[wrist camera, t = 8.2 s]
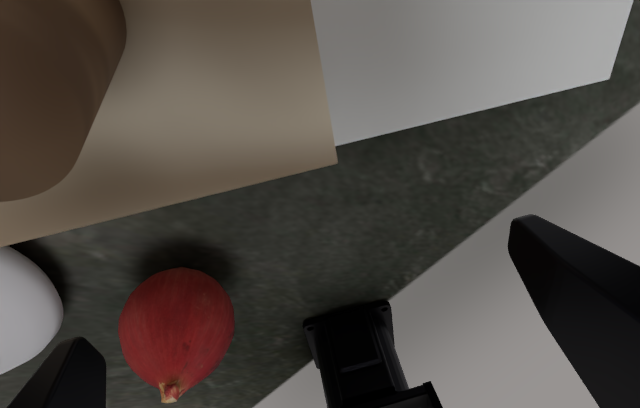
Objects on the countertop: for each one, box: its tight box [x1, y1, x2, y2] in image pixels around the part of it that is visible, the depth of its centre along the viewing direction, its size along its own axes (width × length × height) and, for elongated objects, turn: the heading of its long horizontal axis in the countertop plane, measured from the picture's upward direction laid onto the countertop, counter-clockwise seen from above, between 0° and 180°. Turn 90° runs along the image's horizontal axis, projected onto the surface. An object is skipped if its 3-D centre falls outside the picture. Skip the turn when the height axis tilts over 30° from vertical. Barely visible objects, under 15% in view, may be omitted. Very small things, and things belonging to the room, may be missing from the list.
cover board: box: [0, 0, 338, 247], centre depth 9 cm, size 13×13×6 cm
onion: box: [118, 267, 235, 403], centre depth 23 cm, size 6×6×8 cm
